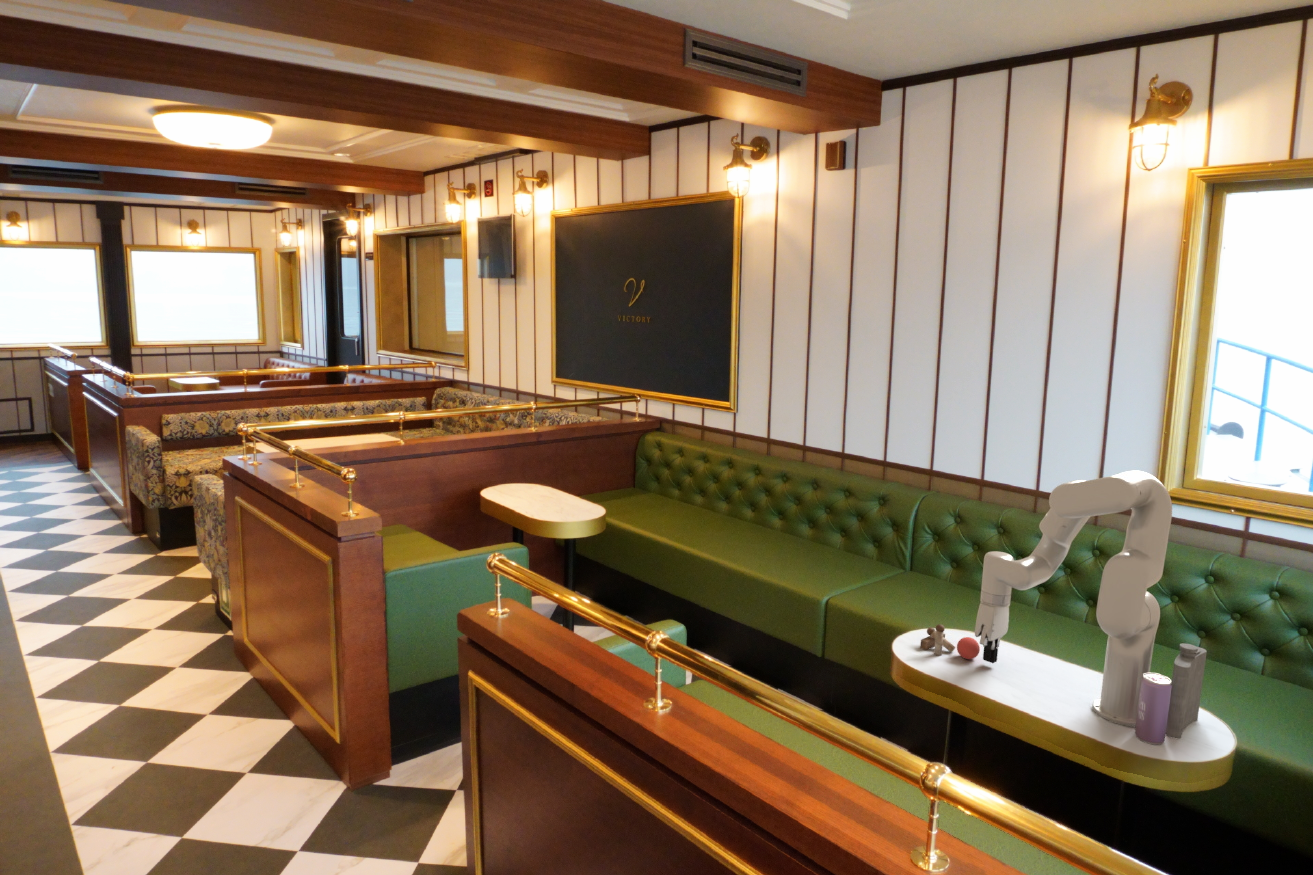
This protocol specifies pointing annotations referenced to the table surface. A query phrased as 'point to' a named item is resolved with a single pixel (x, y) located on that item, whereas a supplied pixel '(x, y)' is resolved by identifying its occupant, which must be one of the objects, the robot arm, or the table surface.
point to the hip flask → (1185, 689)
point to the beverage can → (1153, 708)
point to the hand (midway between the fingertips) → (989, 660)
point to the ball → (968, 648)
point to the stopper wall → (928, 642)
